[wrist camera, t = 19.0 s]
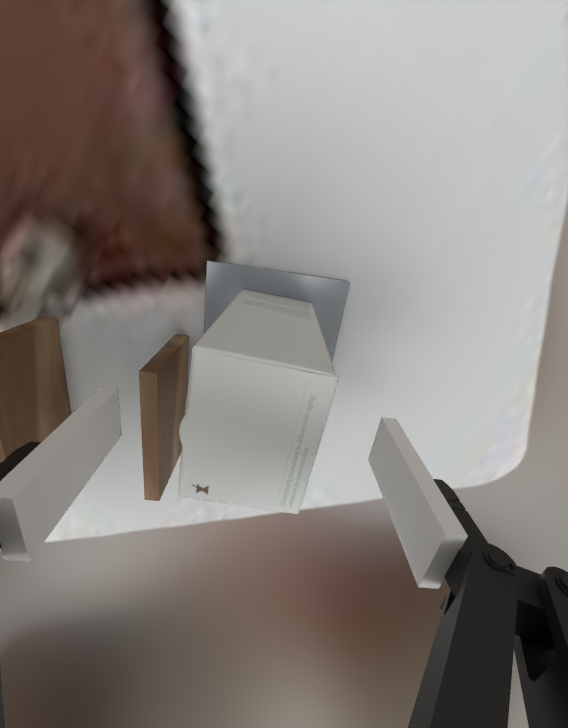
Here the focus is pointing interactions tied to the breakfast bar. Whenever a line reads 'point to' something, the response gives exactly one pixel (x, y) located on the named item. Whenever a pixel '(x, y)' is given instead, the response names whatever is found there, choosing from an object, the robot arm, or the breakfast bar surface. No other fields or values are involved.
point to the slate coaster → (276, 293)
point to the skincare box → (256, 404)
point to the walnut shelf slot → (51, 403)
